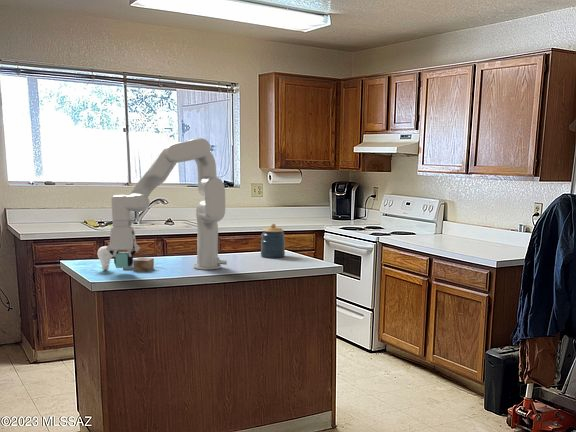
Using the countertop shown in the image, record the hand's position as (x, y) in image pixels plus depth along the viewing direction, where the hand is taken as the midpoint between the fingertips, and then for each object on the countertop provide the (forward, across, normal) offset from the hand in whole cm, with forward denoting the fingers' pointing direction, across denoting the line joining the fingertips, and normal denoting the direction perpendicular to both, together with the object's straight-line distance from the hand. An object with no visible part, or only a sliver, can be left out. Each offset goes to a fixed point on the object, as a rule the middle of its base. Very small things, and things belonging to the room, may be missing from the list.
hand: (123, 265), depth 227 cm
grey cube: (+4, +3, -12) cm, 13 cm away
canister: (+7, -59, -58) cm, 83 cm away
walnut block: (+4, -5, -10) cm, 12 cm away
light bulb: (+4, +11, -6) cm, 13 cm away
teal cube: (+1, 0, 0) cm, 1 cm away
